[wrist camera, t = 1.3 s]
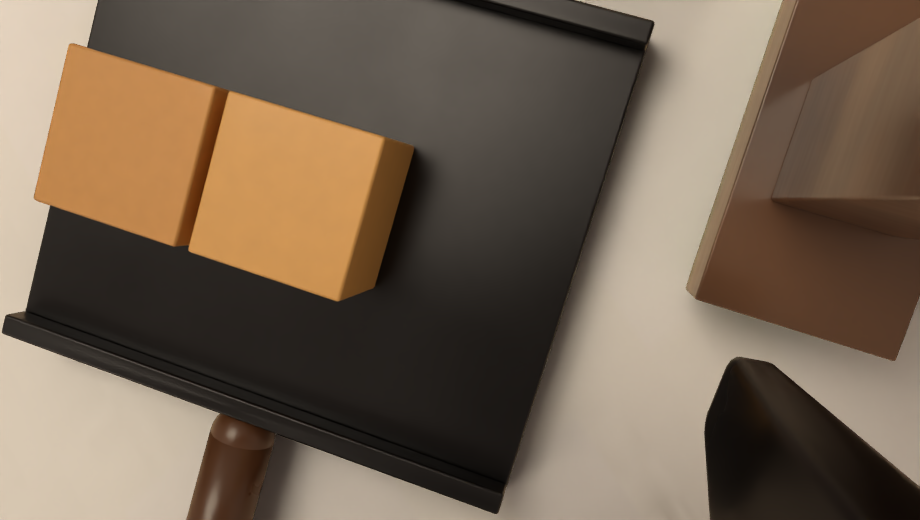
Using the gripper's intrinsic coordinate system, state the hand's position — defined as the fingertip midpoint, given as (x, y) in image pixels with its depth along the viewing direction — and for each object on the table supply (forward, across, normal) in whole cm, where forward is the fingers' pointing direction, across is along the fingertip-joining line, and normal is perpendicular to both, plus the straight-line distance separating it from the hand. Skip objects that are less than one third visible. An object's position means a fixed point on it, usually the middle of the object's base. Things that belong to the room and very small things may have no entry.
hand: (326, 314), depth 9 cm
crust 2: (+12, +3, +5) cm, 13 cm away
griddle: (+11, +3, +9) cm, 15 cm away
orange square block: (+13, +7, +4) cm, 15 cm away
